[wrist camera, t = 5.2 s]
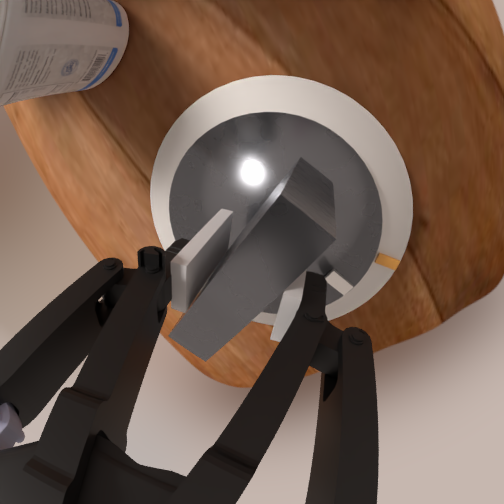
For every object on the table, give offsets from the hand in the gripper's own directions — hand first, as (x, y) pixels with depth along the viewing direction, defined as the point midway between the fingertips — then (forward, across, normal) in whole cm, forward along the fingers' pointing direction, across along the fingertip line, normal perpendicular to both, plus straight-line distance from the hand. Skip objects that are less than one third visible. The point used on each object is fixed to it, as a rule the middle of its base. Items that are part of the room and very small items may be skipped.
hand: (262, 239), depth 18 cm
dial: (+3, 0, 0) cm, 3 cm away
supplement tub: (+5, -19, +13) cm, 24 cm away
